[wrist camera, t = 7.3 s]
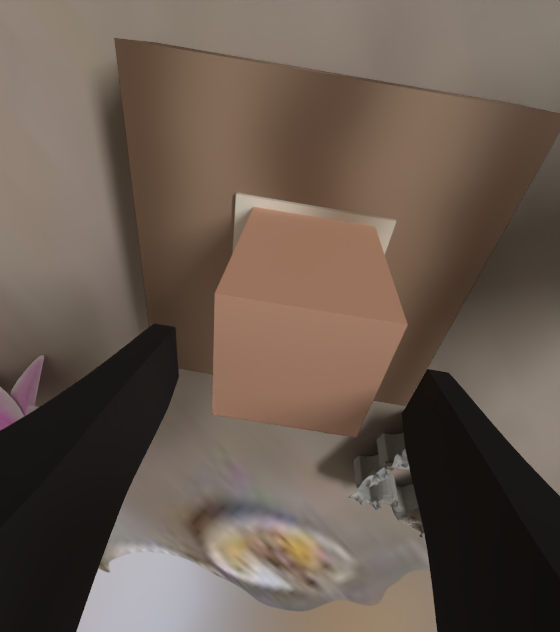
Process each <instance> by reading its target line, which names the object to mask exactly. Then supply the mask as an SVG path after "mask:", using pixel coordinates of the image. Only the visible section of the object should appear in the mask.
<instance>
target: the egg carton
mask: <svg viewBox="0 0 560 632" xmlns="http://www.w3.org/2000/svg"><path fill="white" fill-rule="evenodd" d="M376 441H377V447H378V453H379V454H377V455H375V456H370V457H364V456H358V457H357V458H356V459H355V460H354V461H353V467H354V474H355V483H356V486H357V488H358V489H357V491H356V492H355V493H354V494H353V495H351V496H349V498H354V499H355V500H356V501H358V502H359V503H360V504H361V505H363V501H364V502H368V503H370V504H372V505H373V506H374V508H375V509H376V510H379V509H381V507H380V502H381V503H384V504H388V505H391V506H392V510H393V512H394V514H395V516H396V518H397V519H398V520H399V521H400V522H402V523H403V524H406V525H409V526H410V525H411V526H412V527H413V528H415V529H417V530H419V531H421V533H422V534H421V535H420V537H424V536H425V534H424V529H423V525H422V520H421V516H420V512H419V507H418V503H417V499H416V494H415V490H414V486H413V484H411V485H407V486H404V487H400V486H397V485H396V484H395V478H394V477H393V476H392V475H390V474H387V469H390V470H393V469H395V468H397V469H400V470H402V469H403V470H404V469H410V468H409V464H408V459H407V454H406V450H405V442H404V433H403V432H402V433H399V434H385V433H384V434H382V435H381V436H380V437H379V438H378V439H377V440H376ZM387 467H389V468H387Z"/></svg>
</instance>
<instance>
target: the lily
mask: <svg viewBox="0 0 560 632" xmlns="http://www.w3.org/2000/svg"><path fill="white" fill-rule="evenodd" d="M43 361H44V355H42V356H39V357H38V358H37V359H36V360H34V361H33V363H32V364H31V365H30V366H29V367H28V368H27V369H26V370H25V371H24V373H23V374H22V375H21V377H20V378H19V379H18V380H17V382H16V384H15V385H14V387H13V388H12V390H11V393H10V395H9V394H8V393H7V392H6V391H5V390H3V389H2V388H1V387H0V430H2V429H4V428H6V427H7V426H9V425H11V424H12V423H14V422H16V421H17V420H19V419H21V418H23V417H24V416H26V415H28V414H29V413H31V412H32V411H34V410H36V409H37V408H39V407H36V406H35V401H36V396H37V390H38V386H39V381H40V376H41V371H42V366H43Z"/></svg>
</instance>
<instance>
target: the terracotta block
mask: <svg viewBox="0 0 560 632" xmlns="http://www.w3.org/2000/svg"><path fill="white" fill-rule="evenodd" d="M407 325H408V324H407V321H406V318H405V315H404V312H403V309H402V306H401V303H400V300H399V297H398V294H397V291H396V288H395V285H394V282H393V279H392V276H391V273H390V270H389V267H388V264H387V261H386V258H385V255H384V252H383V249H382V246H381V243H380V240H379V237H378V234H377V231H376V227H375V226H369V225H363V224H356V223H350V222H344V221H338V220H332V219H326V218H320V217H314V216H308V215H301V214H295V213H289V212H283V211H277V210H271V209H265V208H259V207H254V208H253V210H252V212H251V214H250V217H249V219H248V221H247V223H246V225H245V228H244V230H243V232H242V234H241V236H240V239H239V241H238V243H237V245H236V247H235V250H234V252H233V254H232V256H231V259H230V261H229V263H228V265H227V267H226V270H225V272H224V274H223V276H222V278H221V281H220V283H219V285H218V287H217V289H216V292H215V304H214V353H213V402H212V414H213V415H219V416H225V417H231V418H238V419H244V420H250V421H256V422H262V423H269V424H275V425H281V426H287V427H293V428H300V429H306V430H312V431H318V432H324V433H331V434H337V435H343V436H349V437H355V438H356V437H357V435H358V433H359V431H360V428H361V426H362V424H363V422H364V420H365V417H366V415H367V413H368V411H369V409H370V406H371V404H372V402H373V400H374V398H375V395H376V393H377V391H378V389H379V387H380V385H381V382H382V380H383V378H384V376H385V374H386V371H387V369H388V367H389V365H390V363H391V360H392V358H393V356H394V354H395V352H396V349H397V347H398V345H399V343H400V341H401V338H402V336H403V334H404V332H405V330H406V327H407Z"/></svg>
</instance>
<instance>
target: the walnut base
mask: <svg viewBox="0 0 560 632" xmlns="http://www.w3.org/2000/svg"><path fill="white" fill-rule="evenodd" d="M114 40H115V48H116V56H117V65H118V73H119V81H120V89H121V98H122V106H123V114H124V123H125V131H126V139H127V147H128V156H129V164H130V172H131V181H132V189H133V197H134V205H135V214H136V222H137V230H138V239H139V247H140V255H141V263H142V272H143V280H144V288H145V297H146V305H147V313H148V321H149V327H150V326H151V325H153V324H154V323H155V324H161V325H167V326H173V327H176V341H177V358H178V368H179V369H185V370H191V371H197V372H203V373H209V374H213V353H214V304H215V292H216V289H217V287H218V285H219V283H220V281H221V278H222V276H223V274H224V272H225V270H226V267H227V265H228V263H229V261H230V259H231V256H232V254H233V252H234V250H235V247H236V245H237V243H238V241H239V239H240V236H241V234H242V232H243V230H244V228H245V225H246V223H247V221H248V219H249V217H250V214H251V212H252V210H253V208H254V207H259V208H265V209H271V210H277V211H283V212H289V213H295V214H301V215H308V216H314V217H320V218H326V219H332V220H338V221H344V222H350V223H356V224H363V225H369V226H375V227H376V231H377V234H378V237H379V240H380V243H381V246H382V249H383V252H384V255H385V258H386V261H387V264H388V267H389V270H390V273H391V276H392V279H393V282H394V285H395V288H396V291H397V294H398V297H399V300H400V303H401V306H402V309H403V312H404V315H405V318H406V321H407V324H408V325H407V327H406V330H405V332H404V334H403V336H402V338H401V341H400V343H399V345H398V347H397V349H396V352H395V354H394V356H393V358H392V360H391V363H390V365H389V367H388V369H387V371H386V374H385V376H384V378H383V380H382V382H381V385H380V387H379V389H378V391H377V393H376V395H375V398H374V400H373V401H379V402H385V403H391V404H398V405H404V406H406V405H407V403H408V402H409V400H410V398H411V396H412V394H413V393H414V391H415V389H416V387H417V385H418V384H419V382H420V380H421V378H422V377H423V375H424V373H425V371H426V369H427V368H428V366H429V364H430V362H431V360H432V359H433V357H434V355H435V353H436V352H437V350H438V348H439V346H440V344H441V343H442V341H443V339H444V337H445V336H446V334H447V332H448V330H449V328H450V327H451V325H452V323H453V321H454V319H455V318H456V316H457V314H458V312H459V311H460V309H461V307H462V305H463V303H464V302H465V300H466V298H467V296H468V294H469V293H470V291H471V289H472V287H473V286H474V284H475V282H476V280H477V278H478V277H479V275H480V273H481V271H482V270H483V268H484V266H485V264H486V262H487V261H488V259H489V257H490V255H491V253H492V252H493V250H494V248H495V246H496V245H497V243H498V241H499V239H500V237H501V236H502V234H503V232H504V230H505V228H506V227H507V225H508V223H509V221H510V220H511V218H512V216H513V214H514V212H515V211H516V209H517V207H518V205H519V204H520V202H521V200H522V198H523V196H524V195H525V193H526V191H527V189H528V187H529V186H530V184H531V182H532V180H533V179H534V177H535V175H536V173H537V171H538V170H539V168H540V166H541V164H542V162H543V161H544V159H545V157H546V155H547V154H548V152H549V150H550V148H551V146H552V145H553V143H554V141H555V139H556V138H557V136H558V134H559V132H560V114H559V113H554V112H550V111H545V110H541V109H536V108H532V107H527V106H523V105H517V104H511V103H505V102H499V101H494V100H488V99H482V98H476V97H470V96H464V95H459V94H453V93H447V92H441V91H435V90H429V89H423V88H418V87H412V86H406V85H400V84H394V83H388V82H382V81H377V80H371V79H365V78H359V77H353V76H347V75H342V74H336V73H330V72H324V71H318V70H312V69H306V68H301V67H295V66H289V65H283V64H277V63H271V62H265V61H260V60H254V59H248V58H242V57H236V56H230V55H224V54H219V53H213V52H207V51H201V50H195V49H189V48H184V47H178V46H172V45H166V44H160V43H154V42H146V41H137V40H127V39H118V38H114Z"/></svg>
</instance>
